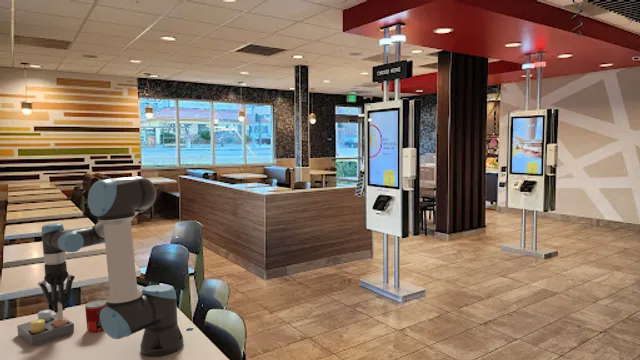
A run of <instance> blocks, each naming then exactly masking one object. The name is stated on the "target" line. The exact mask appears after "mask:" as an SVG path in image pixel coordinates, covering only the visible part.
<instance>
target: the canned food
mask: <svg viewBox="0 0 640 360" xmlns="http://www.w3.org/2000/svg"><path fill="white" fill-rule="evenodd" d="M104 307H106V300H102V299H100V300H99V299H98V300H93V301H92V300H91V301H89V302H87V303H86V304H85V319H86V330H87V332H88V333H91V334H96V333H97V334H98V333H101V332H105V331H104V329H103V327H102V325H101V322H100V311H101V310H102V309H103V308H104Z"/></svg>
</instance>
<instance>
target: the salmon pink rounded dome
mask: <svg viewBox="0 0 640 360" xmlns="http://www.w3.org/2000/svg"><path fill="white" fill-rule="evenodd" d="M67 320H68V318H67V317H66V316H65V317H64V316H63V320H60V321H59V320H58V319H55V320H53V325H54V327H55V328H57V327H61V326H64V325H67Z"/></svg>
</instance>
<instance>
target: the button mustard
mask: <svg viewBox="0 0 640 360" xmlns="http://www.w3.org/2000/svg"><path fill="white" fill-rule="evenodd" d="M30 322H31V321H30ZM30 328H31V333H39V332H42V331H44V330H45V320H43V319H40V320H38V319H35V320H32V322H31V323H30Z"/></svg>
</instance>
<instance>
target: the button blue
mask: <svg viewBox="0 0 640 360" xmlns="http://www.w3.org/2000/svg"><path fill="white" fill-rule="evenodd" d="M40 319H43V320H45V322H48V321H50V320H52V309H44V310H40V311H38V312H37V320H40Z"/></svg>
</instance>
